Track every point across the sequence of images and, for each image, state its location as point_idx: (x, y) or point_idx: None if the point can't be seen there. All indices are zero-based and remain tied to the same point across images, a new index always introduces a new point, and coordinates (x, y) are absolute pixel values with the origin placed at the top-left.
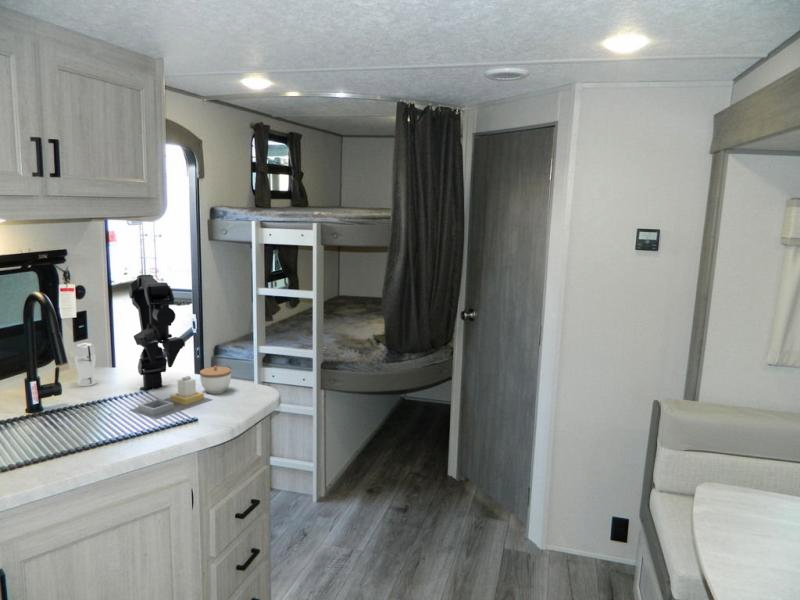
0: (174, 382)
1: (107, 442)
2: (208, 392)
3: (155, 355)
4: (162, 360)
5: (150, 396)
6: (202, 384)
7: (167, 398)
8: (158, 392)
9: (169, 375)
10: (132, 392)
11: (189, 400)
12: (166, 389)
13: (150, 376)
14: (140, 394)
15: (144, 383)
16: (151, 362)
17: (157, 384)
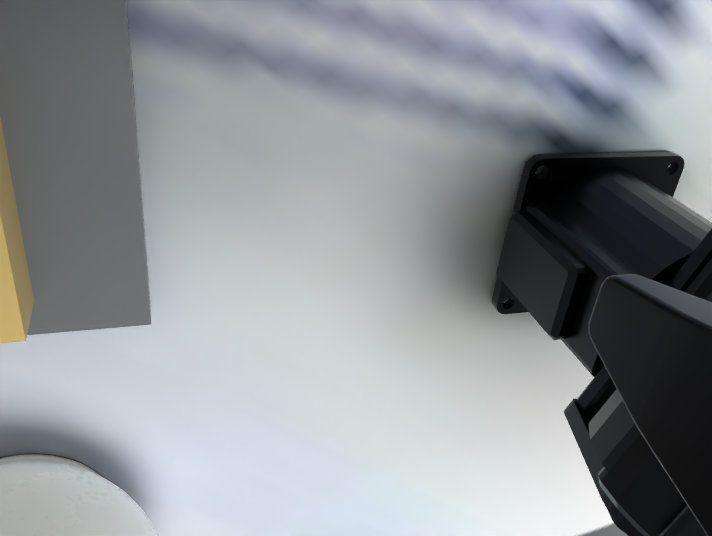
0: (526, 408)
1: None
2: (32, 457)
3: (689, 483)
4: (639, 498)
5: (439, 75)
6: (40, 492)
7: (122, 79)
8: (460, 198)
9: None
10: (685, 55)
11: None
12: (458, 287)
13: (642, 258)
14: (576, 59)
15: (662, 193)
16: (626, 279)
17: (529, 252)
